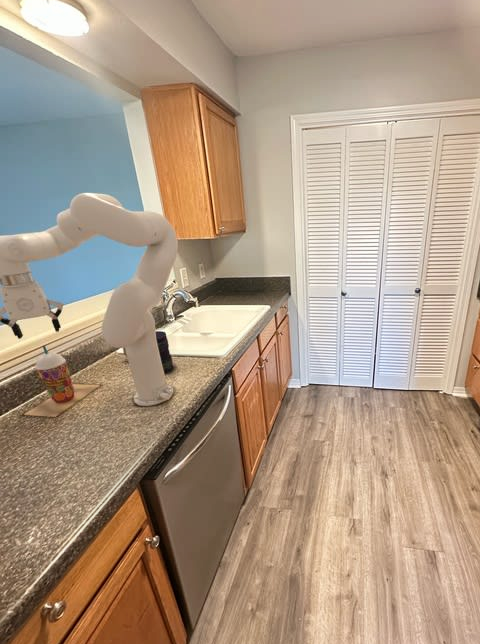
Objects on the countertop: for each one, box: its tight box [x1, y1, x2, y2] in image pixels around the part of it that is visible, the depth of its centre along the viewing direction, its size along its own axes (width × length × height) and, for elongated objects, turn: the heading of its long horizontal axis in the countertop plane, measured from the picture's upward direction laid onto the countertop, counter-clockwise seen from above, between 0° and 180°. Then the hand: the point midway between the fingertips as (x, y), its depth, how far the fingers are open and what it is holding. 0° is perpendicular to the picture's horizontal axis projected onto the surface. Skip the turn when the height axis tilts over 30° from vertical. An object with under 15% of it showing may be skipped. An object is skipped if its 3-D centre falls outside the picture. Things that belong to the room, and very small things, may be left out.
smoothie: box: [34, 345, 75, 403], centre depth 108 cm, size 8×8×20 cm
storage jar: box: [156, 330, 174, 375], centre depth 127 cm, size 10×10×15 cm
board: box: [23, 383, 101, 418], centre depth 112 cm, size 20×12×1 cm, turn 171°
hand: (39, 333), depth 102 cm, fingers open, 9 cm apart
